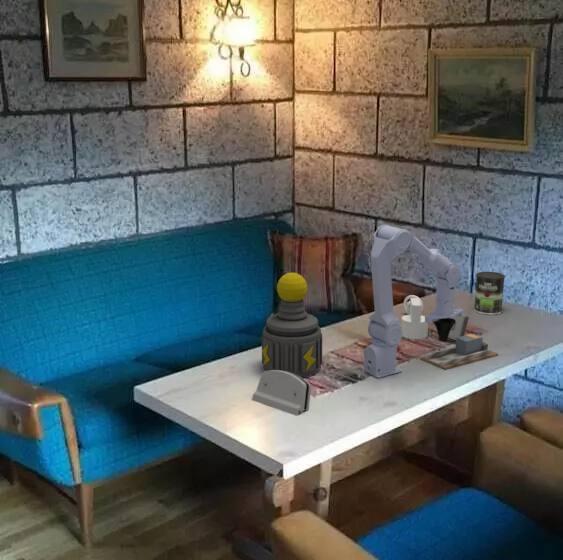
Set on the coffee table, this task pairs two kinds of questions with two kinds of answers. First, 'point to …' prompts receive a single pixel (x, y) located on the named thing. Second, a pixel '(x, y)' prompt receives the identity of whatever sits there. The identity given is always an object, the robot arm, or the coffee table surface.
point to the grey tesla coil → (292, 332)
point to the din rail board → (456, 357)
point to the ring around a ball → (409, 303)
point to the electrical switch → (458, 327)
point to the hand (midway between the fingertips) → (442, 340)
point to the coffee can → (489, 293)
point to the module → (468, 344)
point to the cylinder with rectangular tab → (414, 322)
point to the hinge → (283, 391)
